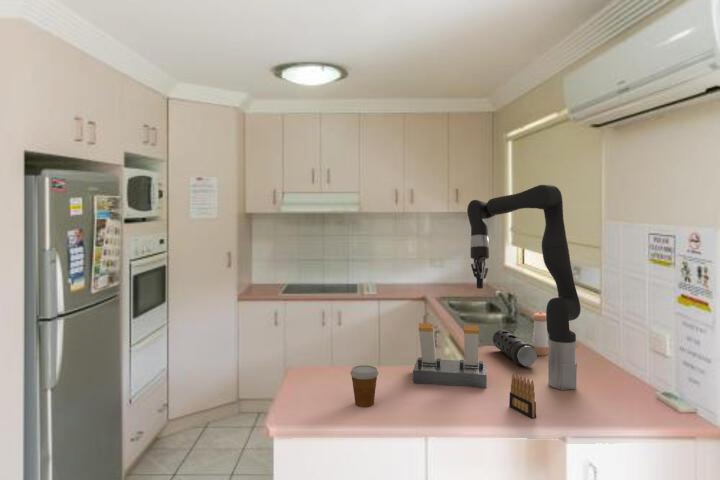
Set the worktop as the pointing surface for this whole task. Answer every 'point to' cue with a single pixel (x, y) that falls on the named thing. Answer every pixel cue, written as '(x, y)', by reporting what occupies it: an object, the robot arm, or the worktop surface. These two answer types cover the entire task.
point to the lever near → (471, 346)
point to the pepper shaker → (540, 334)
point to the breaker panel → (450, 373)
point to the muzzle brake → (515, 348)
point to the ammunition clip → (522, 396)
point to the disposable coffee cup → (364, 384)
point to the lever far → (427, 343)
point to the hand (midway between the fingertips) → (479, 288)
